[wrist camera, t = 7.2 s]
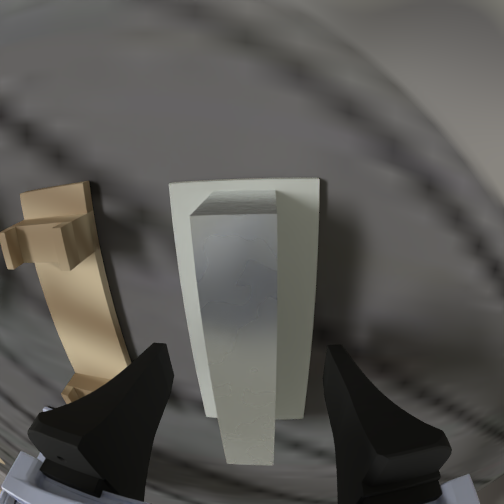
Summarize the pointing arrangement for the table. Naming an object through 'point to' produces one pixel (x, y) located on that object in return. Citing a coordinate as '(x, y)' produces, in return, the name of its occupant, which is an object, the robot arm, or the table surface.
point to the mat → (288, 280)
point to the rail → (240, 316)
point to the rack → (70, 281)
